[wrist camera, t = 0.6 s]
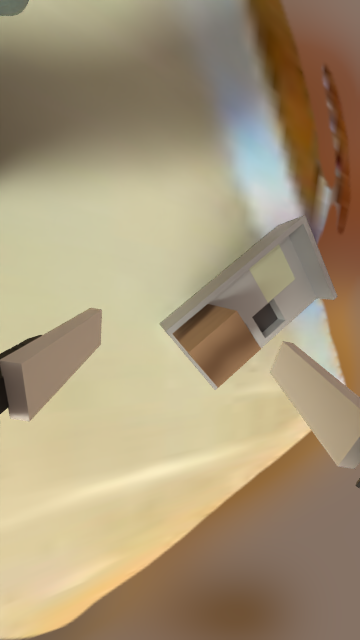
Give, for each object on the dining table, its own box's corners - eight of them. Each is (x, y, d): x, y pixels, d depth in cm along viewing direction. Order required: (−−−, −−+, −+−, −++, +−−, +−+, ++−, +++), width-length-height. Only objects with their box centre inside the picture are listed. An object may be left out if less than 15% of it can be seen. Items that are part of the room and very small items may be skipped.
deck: (159, 323, 28) (165, 331, 23) (277, 225, 30) (305, 214, 26) (210, 384, 33) (223, 400, 28) (309, 294, 35) (337, 296, 30)
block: (171, 333, 27) (188, 352, 19) (206, 303, 27) (236, 310, 20) (194, 360, 29) (218, 387, 21) (226, 332, 29) (261, 348, 22)
